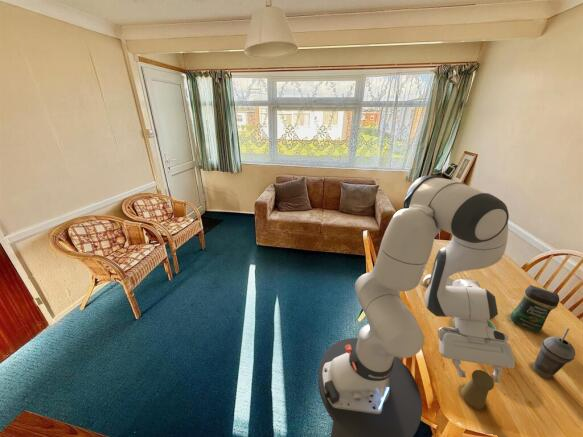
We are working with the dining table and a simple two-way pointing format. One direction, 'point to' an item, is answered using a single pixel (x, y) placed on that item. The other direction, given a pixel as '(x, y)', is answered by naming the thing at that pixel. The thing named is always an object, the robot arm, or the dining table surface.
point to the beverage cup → (553, 355)
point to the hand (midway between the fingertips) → (478, 379)
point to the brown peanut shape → (477, 389)
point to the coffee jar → (534, 308)
